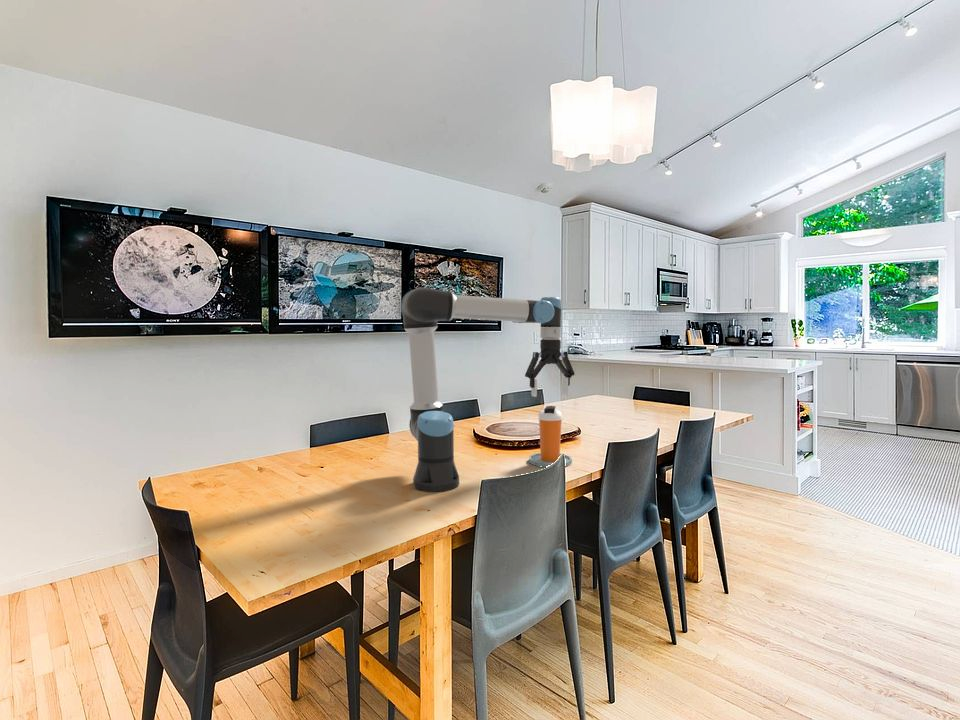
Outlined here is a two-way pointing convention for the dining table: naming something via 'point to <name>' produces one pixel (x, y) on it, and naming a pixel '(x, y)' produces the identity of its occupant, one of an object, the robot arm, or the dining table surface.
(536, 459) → the saucer
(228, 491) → the dining table surface
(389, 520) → the dining table surface
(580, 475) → the dining table surface
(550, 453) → the shaker bottle
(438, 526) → the dining table surface
